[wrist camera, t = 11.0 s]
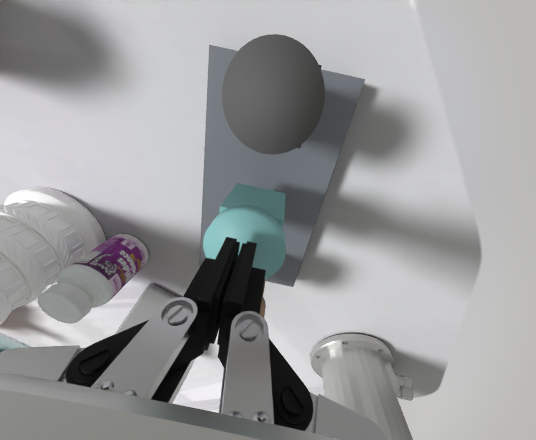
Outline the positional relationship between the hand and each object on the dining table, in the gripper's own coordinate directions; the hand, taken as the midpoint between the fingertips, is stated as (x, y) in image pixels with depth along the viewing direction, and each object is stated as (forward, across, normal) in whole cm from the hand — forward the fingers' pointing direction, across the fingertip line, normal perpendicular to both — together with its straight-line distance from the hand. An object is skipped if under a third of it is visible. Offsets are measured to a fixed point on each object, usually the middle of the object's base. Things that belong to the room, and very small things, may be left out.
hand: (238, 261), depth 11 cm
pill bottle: (+12, +16, +12) cm, 24 cm away
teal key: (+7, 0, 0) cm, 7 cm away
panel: (+12, 0, 0) cm, 12 cm away
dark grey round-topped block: (+9, 0, -8) cm, 12 cm away
